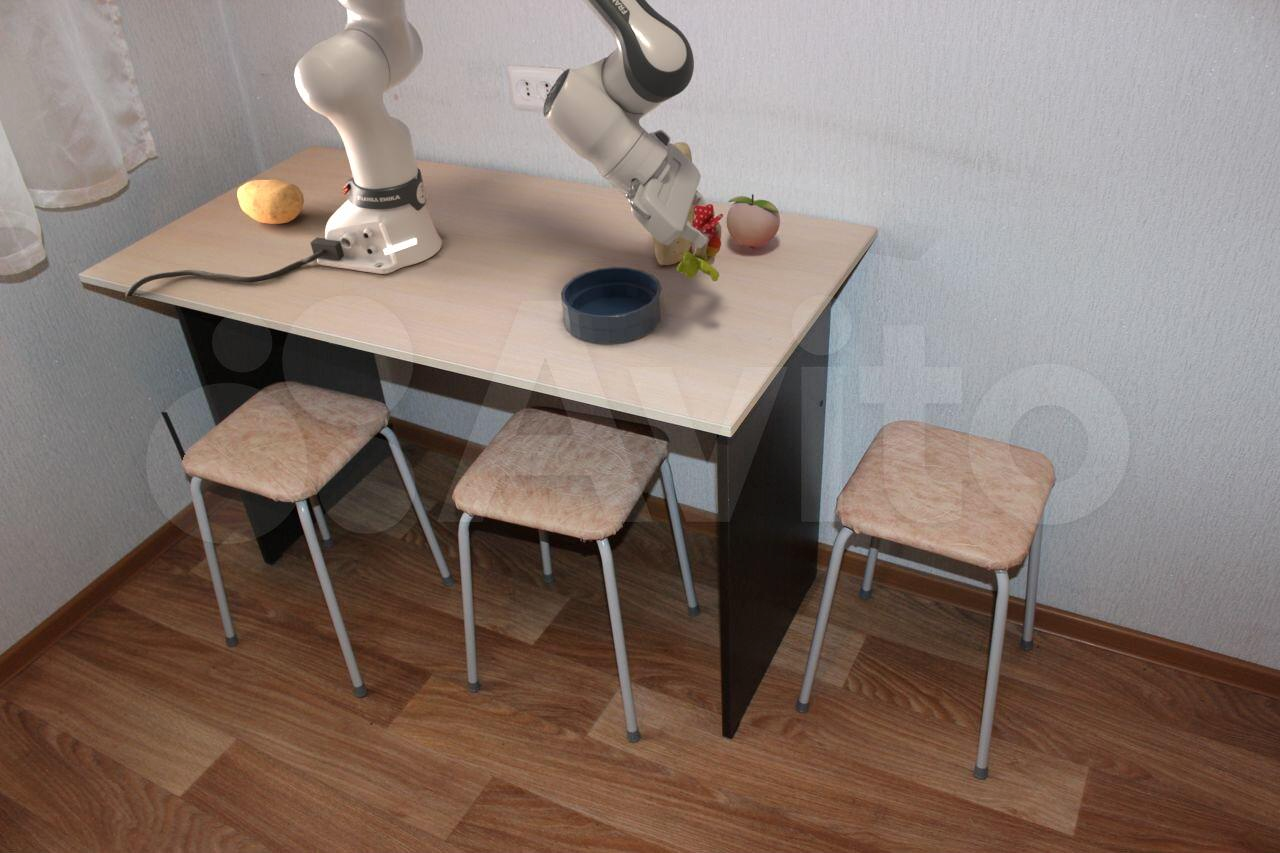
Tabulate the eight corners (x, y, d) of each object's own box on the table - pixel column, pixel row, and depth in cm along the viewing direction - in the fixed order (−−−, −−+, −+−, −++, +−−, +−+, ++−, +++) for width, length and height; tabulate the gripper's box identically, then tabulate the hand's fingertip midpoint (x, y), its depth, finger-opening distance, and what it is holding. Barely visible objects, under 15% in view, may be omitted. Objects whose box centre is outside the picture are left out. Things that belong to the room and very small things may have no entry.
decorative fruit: (719, 256, 179) (718, 203, 173) (733, 235, 185) (732, 182, 179) (772, 263, 176) (773, 208, 170) (784, 241, 182) (785, 187, 176)
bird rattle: (689, 274, 160) (670, 278, 152) (697, 200, 157) (678, 201, 149) (728, 279, 158) (711, 284, 150) (737, 205, 155) (720, 206, 147)
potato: (265, 206, 208) (253, 168, 204) (321, 215, 203) (310, 176, 198) (231, 227, 201) (218, 188, 197) (288, 237, 196) (276, 197, 191)
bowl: (553, 342, 160) (550, 315, 157) (577, 292, 172) (574, 265, 169) (653, 347, 157) (651, 319, 154) (670, 295, 169) (668, 268, 166)
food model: (676, 274, 175) (670, 161, 163) (643, 265, 178) (635, 154, 166) (705, 249, 181) (702, 139, 169) (673, 242, 184) (668, 132, 172)
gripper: (639, 182, 139) (714, 250, 143) (664, 125, 155) (731, 188, 159) (609, 213, 142) (683, 278, 146) (637, 153, 158) (703, 214, 162)
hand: (708, 231), depth 152 cm, fingers closed on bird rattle, 6 cm apart
